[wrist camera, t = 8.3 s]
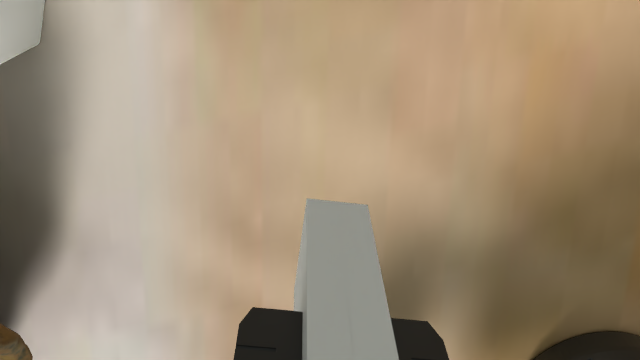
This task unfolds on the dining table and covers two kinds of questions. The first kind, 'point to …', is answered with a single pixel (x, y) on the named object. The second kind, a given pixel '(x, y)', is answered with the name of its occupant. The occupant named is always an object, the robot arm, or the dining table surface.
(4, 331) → the brown cowboy hat
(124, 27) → the dining table surface
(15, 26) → the medicine bottle
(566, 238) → the dining table surface
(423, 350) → the robot arm
